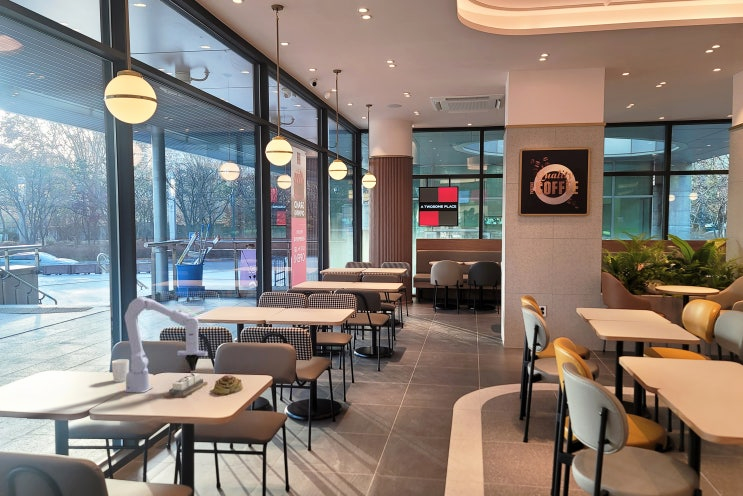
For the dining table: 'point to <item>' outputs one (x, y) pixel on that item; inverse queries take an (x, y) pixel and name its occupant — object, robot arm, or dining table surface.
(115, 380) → the white cup
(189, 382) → the tile two
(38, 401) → the dining table surface
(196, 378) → the tile three
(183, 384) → the tile one
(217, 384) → the pastry
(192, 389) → the board
